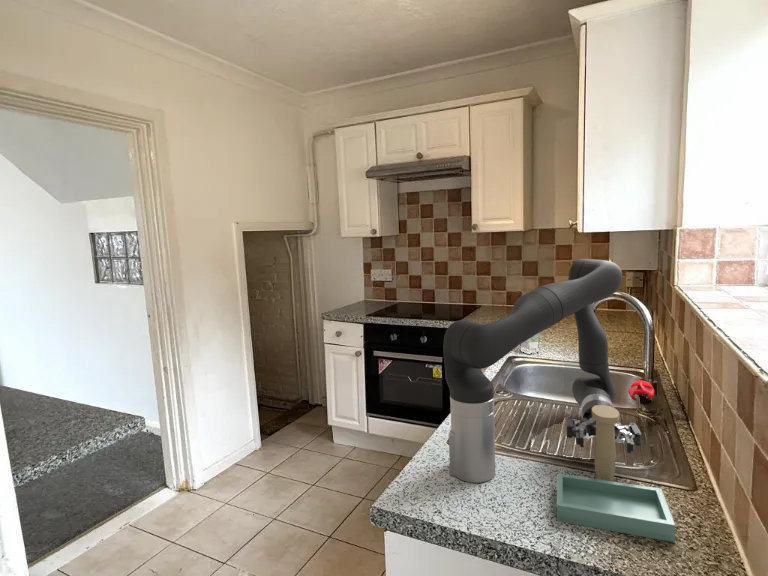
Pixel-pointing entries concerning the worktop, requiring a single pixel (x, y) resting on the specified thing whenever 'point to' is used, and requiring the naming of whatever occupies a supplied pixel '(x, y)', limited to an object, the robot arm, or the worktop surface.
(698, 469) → the worktop surface
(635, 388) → the red lobed piece
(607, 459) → the handle
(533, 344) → the syrup box
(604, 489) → the tray
